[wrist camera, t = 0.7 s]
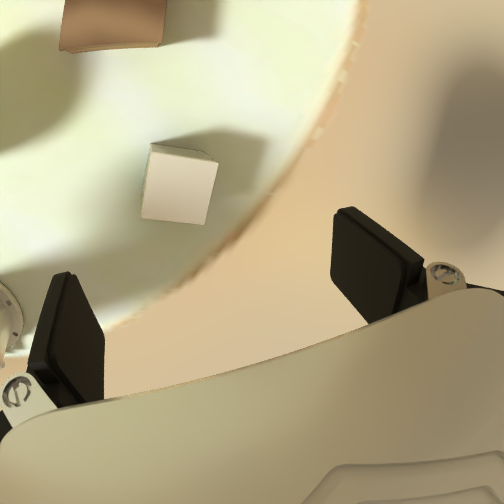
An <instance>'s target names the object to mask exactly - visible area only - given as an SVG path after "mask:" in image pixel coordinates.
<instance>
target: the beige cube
mask: <svg viewBox="0 0 504 504" xmlns="http://www.w3.org/2000/svg"><path fill="white" fill-rule="evenodd" d="M218 165H219V163H218V162H216V161H214V160H213V159H212V158H211V157H209V156H208V155H207V154H206V153H205V152H203V151H197V150H191V149H185V148H179V147H172V146H165V145H158V144H150V149H149V154H148V159H147V165H146V170H145V176H144V182H143V189H142V195H141V201H142V212H141V219H151V220H162V221H171V222H181V223H191V224H200V225H205V220H206V216H207V211H208V207H209V203H210V198H211V194H212V190H213V185H214V181H215V177H216V173H217V169H218Z"/></svg>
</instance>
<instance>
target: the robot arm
mask: <svg viewBox="0 0 504 504" xmlns="http://www.w3.org/2000/svg"><path fill="white" fill-rule="evenodd" d="M423 263H424V259H423V258H422V257H421V256H420V255H419V254H417V253H416V252H415V251H414V250H412V249H411V248H410V247H408V246H407V245H406V244H405V243H403V242H402V241H401V240H399V239H398V238H396V237H395V236H394V235H393V234H391V233H390V232H389V231H387V230H386V229H384V228H383V227H382V226H380V225H379V224H378V223H376V222H375V221H374V220H372V219H371V218H369V217H368V216H367V215H365V214H364V213H362V212H361V211H359V210H358V209H357V208H355V207H352V206H351V207H346V208H341V209H339V210H338V211H337V213H336V214H335V215H334V218H333V239H332V256H331V269H330V276H331V279H332V281H333V283H334V284H335V285H336V286H337V287H338V288H339V290H340V291H341V292H342V293H343V294H344V296H345V297H346V298H347V299H348V300H349V301H350V302H351V304H352V305H353V306H354V307H355V308H356V309H357V311H358V312H359V313H360V314H361V315H362V317H363V318H364V319H365V320H366V321H367V323H368V325H366V326H363V327H361V328H358V329H356V330H353V331H350V332H348V333H345V334H342V335H340V336H337V337H334V338H331V339H329V340H326V341H323V342H320V343H317V344H315V345H311V346H309V347H306V348H303V349H300V350H297V351H294V352H291V353H288V354H285V355H282V356H279V357H275V358H272V359H269V360H266V361H262V362H259V363H256V364H253V365H249V366H246V367H242V368H238V369H235V370H232V371H228V372H224V373H221V374H217V375H213V376H209V377H205V378H201V379H197V380H193V381H190V382H185V383H181V384H177V385H172V386H168V387H164V388H159V389H155V390H150V391H145V392H140V393H135V394H130V395H125V396H120V397H115V398H109V399H104V352H105V337H104V334H103V331H102V329H101V327H100V325H99V323H98V321H97V319H96V317H95V315H94V313H93V311H92V309H91V307H90V305H89V303H88V300H87V298H86V296H85V294H84V292H83V290H82V287H81V285H80V283H79V281H78V278H77V276H76V275H75V274H73V275H71V273H70V272H64V273H60V274H56V275H54V276H53V278H52V281H51V283H50V286H49V289H48V292H47V295H46V298H45V301H44V305H43V308H42V311H41V314H40V318H39V321H38V324H37V328H36V332H35V335H34V339H33V343H32V347H31V351H30V355H29V359H28V363H27V364H28V367H27V371H26V372H20V373H16V374H14V375H12V376H11V377H9V378H8V379H7V380H6V381H5V382H4V384H3V385H2V387H1V389H0V406H1V408H2V411H0V504H504V291H500V290H495V289H491V288H486V287H482V286H476V285H472V284H468V283H466V282H465V278H464V275H463V273H462V272H461V271H460V270H459V269H458V268H457V267H455V266H453V265H451V264H448V263H444V262H434V263H431V264H429V265H428V266H427V268H426V269H425V268H424V267H423ZM22 329H23V315H22V311H21V309H20V306H19V304H18V302H17V301H16V299H15V297H14V296H13V295H12V294H11V292H10V291H9V290H8V289H7V288H6V287H5V286H4V285H3V284H1V283H0V368H3V367H4V366H5V363H4V360H3V357H4V354H5V350H6V347H9V346H11V345H13V344H14V343H16V342H17V341H18V339H19V338H20V335H21V333H22Z"/></svg>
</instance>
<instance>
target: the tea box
mask: <svg viewBox="0 0 504 504" xmlns="http://www.w3.org/2000/svg"><path fill="white" fill-rule="evenodd" d="M166 4H167V0H65V5H64V12H63V18H62V26H61V34H60V43H59V50H60V51H64V50H67V51H68V52H70V53H80V52H88V51H98V50H109V49H123V48H149V47H158V44H159V43H162V39H163V29H164V20H165V12H166Z"/></svg>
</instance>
